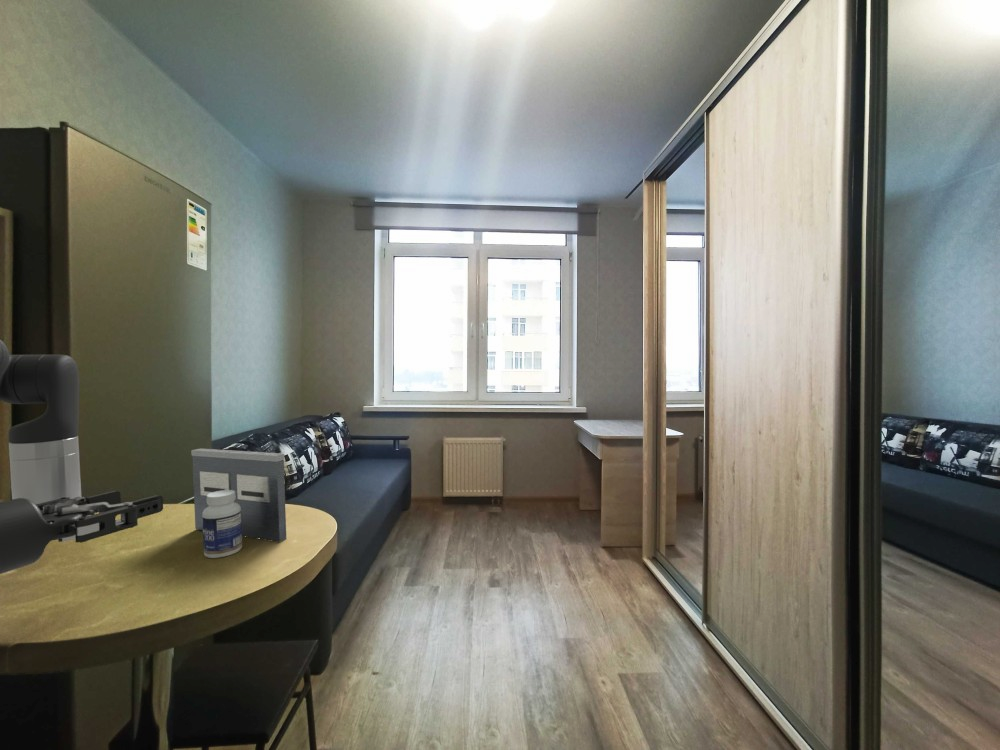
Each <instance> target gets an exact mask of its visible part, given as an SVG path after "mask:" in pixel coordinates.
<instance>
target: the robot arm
mask: <svg viewBox="0 0 1000 750" xmlns="http://www.w3.org/2000/svg"><path fill="white" fill-rule="evenodd" d="M6 345H7V344H5V342H4V341H3V340H1V339H0V401H1V402H4V403H7V404H13V405H34V404H36V405H37V404H47V405H46V409H45V412H44V413H43V414H41V415H39V416H38V417H36V418H34V419H31V420H28V421H25V422H22V423H18V424H15V425H13V426H11V427H10V428H9V429H8V432H7V433H8V435H7V436H8V453H9V466H10V468H9V469H10V484H11V485H10V486H11V488H10V489H11V499H8V500H4V501H0V575H2V574H5V573H8V572H11V571H14V570H16V569H20V568H23V567H26V566H29V565H33V564H34V563H37V561H38V560H39V559H40V558H41V557H42V556H43V554H44V552H45V549H46V548H47V546H48V544H49V543H50V542H52V541H57V542H62V543H63V542H67V541H73V540H75V543H82V544H83V543H85V542H88V541H90V540H95V539H97V538H101V537H103V536H108V535H110V534H111V535H112V534H114V533H117V532H121V531H124V530H128V529H132V528H134V527H136V526H138V525H139V523H138V519H141V518H145V517H148V516H151V515H154V514H158V513H161V512H162V511H163V510H164V497H163V496H162V495H157V494H155V495H151V496H147V497H144V498H143V497H142V498H140V499H137V500H132V501H125V502H122V503H121V501H122V499H121V498H122V497H121V496H122V495H121V492H120V491H118V490H112V491H108V492H103V493H98V494H95V495H91V496H87V497H84V496H82V488H81V487H82V483H81V465H80V447H79V445H80V444H79V421H80V408H79V407H80V406H79V405H80V373H79V368H78V365H77V362H76V361H75V359H73V357H71V356H70V355H66V354H10V351H9V349H8V346H6ZM119 515H120V519H116V517H117V516H119Z"/></svg>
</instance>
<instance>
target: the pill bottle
mask: <svg viewBox="0 0 1000 750" xmlns="http://www.w3.org/2000/svg"><path fill="white" fill-rule="evenodd" d="M235 498H236V495H235V491H234V490H222V491H216V492H212V493H210V494H208V495H207V504H208V505H209V507H207V508H205V509H204V511H203V513H202V521H203V531H202V540H203V541H202V542H203V554H204V556H205V557H206V558H210V559H217V558H219V559H220V558H223V557H228V556H231V555H234V554H236V553H237V552H239V551H240V550H241V549H242V548H243V537H242V527H241V507H240V505H239V504H238V503H235V502H234V501H235Z"/></svg>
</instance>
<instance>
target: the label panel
mask: <svg viewBox="0 0 1000 750" xmlns="http://www.w3.org/2000/svg"><path fill="white" fill-rule="evenodd" d="M190 453H191V454H190V455H191V457H192V479H193V482H192V483H193V501H194V502H193V504H194V526H195V527H194V529H196V530H195V531H199V530H203V521H202V513H203V511H204V509H205V508H207V507H209V505H208V504H207V495H208V494H210V493H212V492H216V491H222V490H234V491H235V495H236V498H235V501H234V502H235V503H238V504H239V505H240V507H241V527H242V536H246V537H245V538H247V537H252V538H251V539H254V538H260V539H259V540H261V539H266V540H265V541H268V540H272V541H271V542H275V541H278V542H277V543H281V542H283V541H285V540H287V516H286V515H287V514H286V513H287V512H286V487H285V483H286V482H285V463H284V461H285V453H282V452H281V453H278V452H266V451H265V452H263V451H262V452H261V451H245V450H234V449H233V450H232V449H231V450H230V449H214V448H197V449H191V452H190Z"/></svg>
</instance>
